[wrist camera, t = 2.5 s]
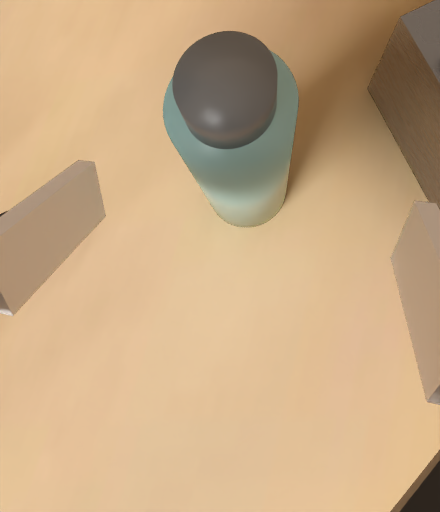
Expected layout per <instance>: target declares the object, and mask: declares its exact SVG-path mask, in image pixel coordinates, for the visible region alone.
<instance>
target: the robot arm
mask: <svg viewBox="0 0 440 512" xmlns="http://www.w3.org/2000/svg"><path fill="white" fill-rule="evenodd" d="M105 216H106V214H105V210H104V205H103V200H102V195H101V191H100V186H99V181H98V177H97V172H96V167H95V162H90V161H82V160H78V161H77V162H75V163H74V164H72V165H71V166H70V167H68V168H67V169H66V170H64V171H63V172H61V173H60V174H59V175H57V176H56V177H54V178H53V179H52V180H50V181H49V182H48V183H46V184H45V185H43V186H42V187H41V188H39V189H38V190H37V191H35V192H34V193H32V194H31V195H30V196H28V197H27V198H26V199H24V200H23V201H21V202H20V203H19V204H17V205H16V206H15V207H13V208H12V209H10V210H9V211H6V212H4V213H2V214H0V313H2V314H6V315H11V316H13V315H14V314H15V313H16V312H17V311H18V310H19V309H20V308H21V307H22V306H23V305H24V304H25V303H26V301H27V300H28V299H29V298H30V297H31V296H32V295H33V294H34V293H35V292H36V291H37V290H38V289H39V287H40V286H41V285H42V284H43V283H44V282H45V281H46V280H47V279H48V278H49V277H50V276H51V275H52V273H53V272H54V271H55V270H56V269H57V268H58V267H59V266H60V265H61V264H62V263H63V262H64V261H65V259H66V258H67V257H68V256H69V255H70V254H71V253H72V252H73V251H74V250H75V249H76V248H77V247H78V245H79V244H80V243H81V242H82V241H83V240H84V239H85V238H86V237H87V236H88V235H89V234H90V233H91V231H92V230H93V229H94V228H95V227H96V226H97V225H98V224H99V223H100V222H101V221H102V220H103V219H104V217H105ZM391 262H392V266H393V270H394V274H395V278H396V282H397V286H398V290H399V294H400V298H401V302H402V306H403V309H404V313H405V317H406V321H407V325H408V329H409V333H410V337H411V341H412V345H413V349H414V353H415V357H416V361H417V365H418V369H419V373H420V377H421V381H422V385H423V389H424V393H425V397H426V401H427V402H429V403H434V404H439V405H440V210H439V208H438V206H437V204H436V203H429V202H421V201H414V203H413V205H412V207H411V210H410V212H409V215H408V217H407V220H406V222H405V224H404V227H403V229H402V232H401V234H400V236H399V239H398V241H397V244H396V246H395V249H394V251H393V253H392V256H391ZM391 512H440V450H439V451H438V453H437V454H436V455H435V456H434V458H433V459H432V460H431V462H430V463H429V464H428V465H427V467H426V468H425V469H424V470H423V472H422V473H421V474H420V475H419V477H418V478H417V479H416V480H415V482H414V483H413V484H412V485H411V487H410V488H409V489H408V490H407V492H406V493H405V494H404V495H403V497H402V498H401V499H400V500H399V502H398V503H397V504H396V505H395V507H394V508H393V509H392V510H391Z"/></svg>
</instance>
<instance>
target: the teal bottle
mask: <svg viewBox="0 0 440 512" xmlns="http://www.w3.org/2000/svg"><path fill="white" fill-rule="evenodd" d="M298 102H299V97H298V89H297V85H296V81H295V79H294V77H293V74H292V73H291V71H290V69H289V68H288V66H287V65H286V64H285V63H284V61H283V60H282V59H281V58H279V57H278V56H277V55H276V54H275V53H273V52H272V51H270V50H269V49H268V48H267V47H266V46H265V45H264V44H263V43H262V42H261V41H260V40H258V39H257V38H255V37H253V36H251V35H248V34H246V33H242V32H236V31H223V32H217V33H214V34H210V35H208V36H206V37H203V38H202V39H200V40H198V41H197V42H195V43H194V44H193V45H192V46H190V47H189V48H188V49H187V50H186V52H185V53H184V54H183V55H182V57H181V58H180V60H179V62H178V64H177V66H176V68H175V71H174V75H173V77H172V79H171V81H170V83H169V85H168V88H167V91H166V93H165V98H164V104H163V118H164V124H165V127H166V130H167V133H168V135H169V137H170V139H171V141H172V143H173V144H174V146H175V148H176V149H177V151H178V152H179V154H180V156H181V157H182V159H183V160H184V162H185V164H186V165H187V167H188V168H189V170H190V172H191V173H192V175H193V177H194V178H195V180H196V181H197V183H198V185H199V186H200V188H201V189H202V191H203V193H204V194H205V196H206V197H207V199H208V201H209V202H210V204H211V205H212V207H213V209H214V210H215V212H216V213H217V214H218V215H219V217H220V218H222V219H223V220H224V221H226V222H227V223H229V224H231V225H234V226H237V227H247V228H248V227H255V226H259V225H261V224H264V223H266V222H267V221H269V220H270V219H272V218H273V217H274V216H275V215H276V214H277V213H278V211H279V210H280V208H281V207H282V205H283V203H284V200H285V195H286V189H287V182H288V175H289V168H290V161H291V154H292V147H293V141H294V134H295V127H296V120H297V113H298Z"/></svg>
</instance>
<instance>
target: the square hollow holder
mask: <svg viewBox="0 0 440 512" xmlns="http://www.w3.org/2000/svg"><path fill="white" fill-rule="evenodd" d="M367 89H368V90H369V92H370V94H371V96H372V98H373V100H374V101H375V103H376V105H377V107H378V109H379V111H380V112H381V114H382V116H383V118H384V120H385V122H386V123H387V125H388V127H389V129H390V131H391V133H392V134H393V136H394V138H395V140H396V142H397V144H398V145H399V147H400V149H401V151H402V153H403V155H404V156H405V158H406V160H407V162H408V164H409V166H410V167H411V169H412V171H413V173H414V175H415V177H416V178H417V180H418V182H419V184H420V186H421V188H422V189H423V191H424V193H425V195H426V197H427V199H428V200H429V202H430V203H436V204H437V206H438V208H439V210H440V0H434V1H432V2H430V3H428V4H426V5H424V6H422V7H420V8H418V9H415V10H413V11H411V12H409V13H407V14H405V15H403V16H401V17H400V18H399V21H398V23H397V25H396V27H395V29H394V31H393V34H392V36H391V38H390V40H389V42H388V45H387V47H386V49H385V51H384V53H383V55H382V58H381V60H380V62H379V64H378V66H377V69H376V71H375V73H374V75H373V77H372V80H371V82H370V84H369V86H368V88H367Z"/></svg>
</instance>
